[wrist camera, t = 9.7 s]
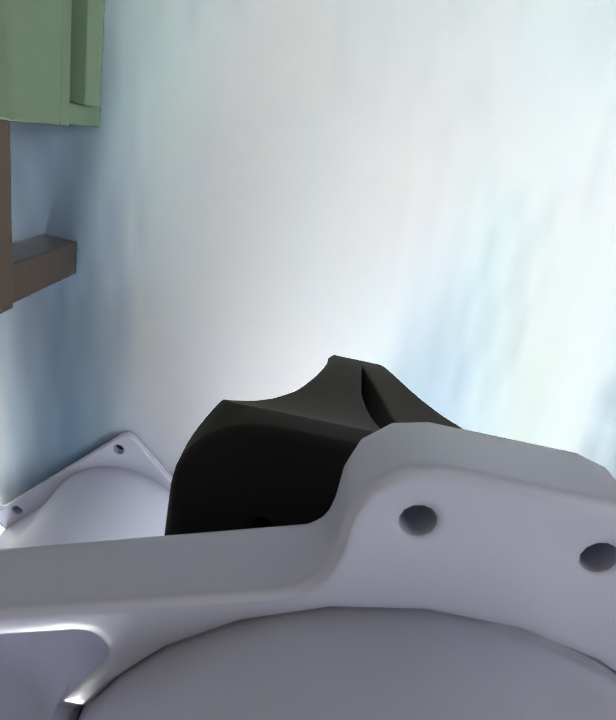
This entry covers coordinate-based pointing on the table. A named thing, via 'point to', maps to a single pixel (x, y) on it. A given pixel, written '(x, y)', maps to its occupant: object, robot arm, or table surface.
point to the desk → (26, 245)
